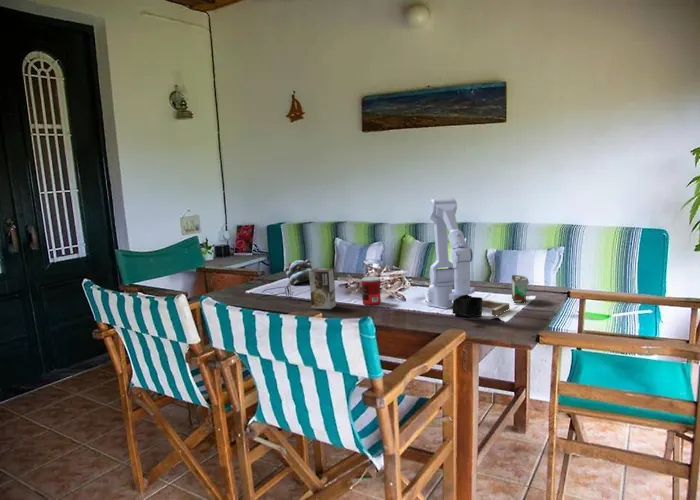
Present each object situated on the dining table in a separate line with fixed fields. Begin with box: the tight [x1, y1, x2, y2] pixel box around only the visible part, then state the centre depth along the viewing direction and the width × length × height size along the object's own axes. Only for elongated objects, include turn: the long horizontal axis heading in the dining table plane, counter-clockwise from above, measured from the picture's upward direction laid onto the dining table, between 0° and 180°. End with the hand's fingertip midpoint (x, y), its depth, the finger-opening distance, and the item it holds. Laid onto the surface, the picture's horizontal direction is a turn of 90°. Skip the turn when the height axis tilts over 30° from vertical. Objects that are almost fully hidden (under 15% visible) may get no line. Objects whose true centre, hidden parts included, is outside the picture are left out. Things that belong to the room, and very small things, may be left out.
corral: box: [482, 298, 510, 317], centre depth 208 cm, size 17×11×3 cm, turn 46°
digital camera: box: [452, 296, 483, 317], centre depth 201 cm, size 10×5×7 cm, turn 66°
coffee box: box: [309, 267, 337, 310], centre depth 222 cm, size 9×6×16 cm
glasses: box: [256, 282, 292, 300], centre depth 248 cm, size 14×15×5 cm
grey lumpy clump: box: [284, 258, 314, 286], centre depth 273 cm, size 15×12×14 cm
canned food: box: [361, 276, 382, 307], centre depth 225 cm, size 8×8×11 cm
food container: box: [511, 274, 530, 304], centre depth 218 cm, size 12×6×10 cm, turn 168°
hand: (462, 314), depth 198 cm, fingers closed
